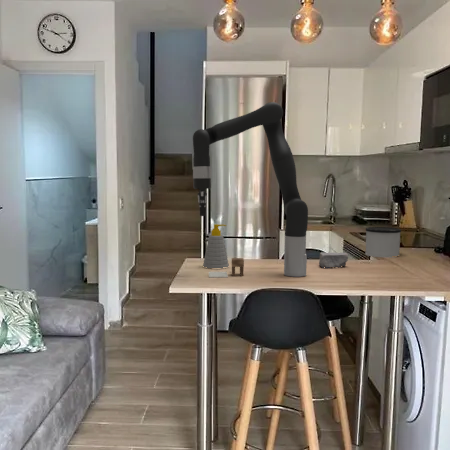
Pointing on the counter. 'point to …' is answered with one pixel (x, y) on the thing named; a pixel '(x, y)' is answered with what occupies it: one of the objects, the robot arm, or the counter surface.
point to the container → (382, 241)
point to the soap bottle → (216, 250)
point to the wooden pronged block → (237, 265)
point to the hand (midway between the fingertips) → (202, 215)
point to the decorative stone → (333, 259)
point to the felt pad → (218, 274)
